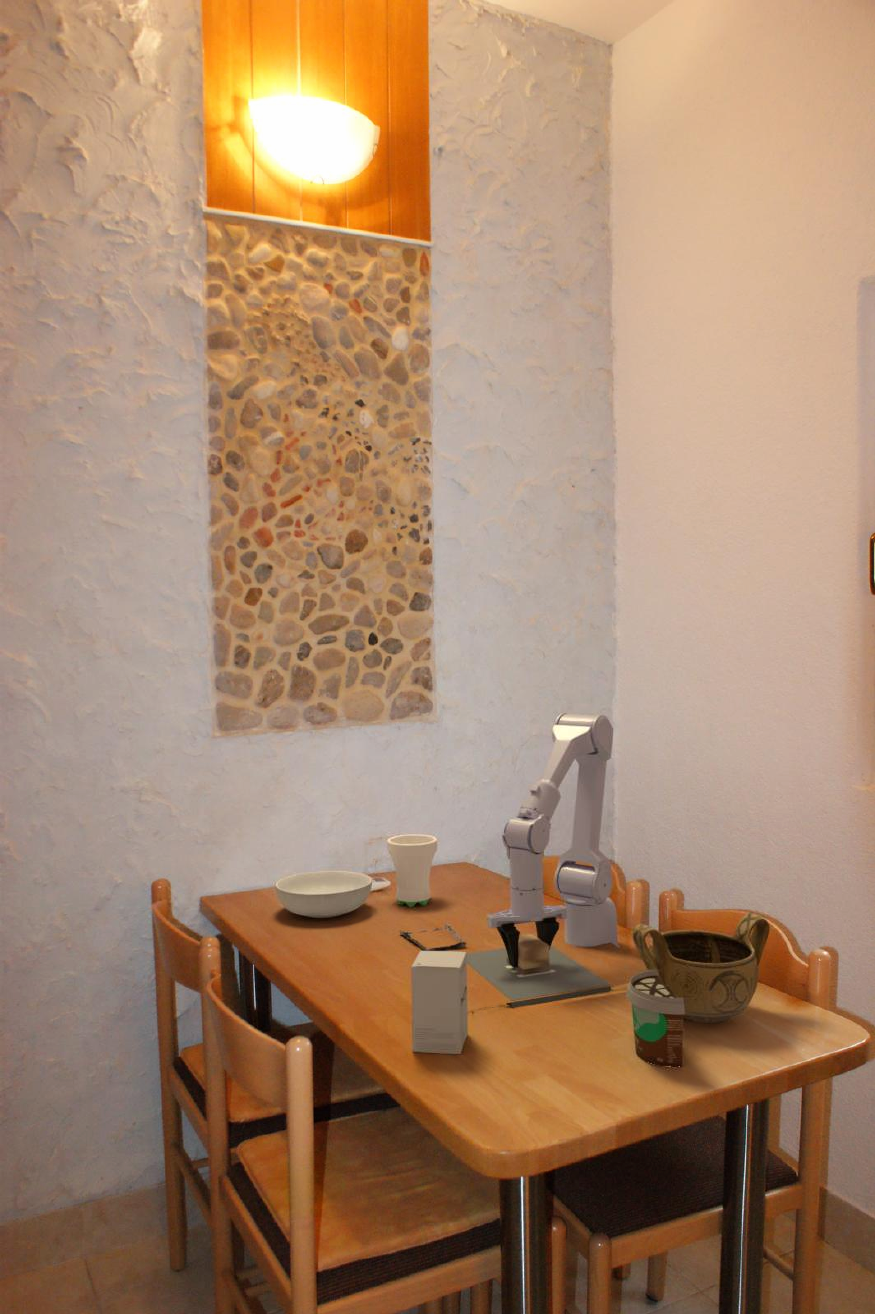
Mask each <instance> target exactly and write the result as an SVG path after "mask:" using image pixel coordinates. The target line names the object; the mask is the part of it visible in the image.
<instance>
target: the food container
mask: <svg viewBox="0 0 875 1314" xmlns="http://www.w3.org/2000/svg"><path fill="white" fill-rule="evenodd" d="M625 998H626V999H627V1000H628V1002H629V1003H630V1004H631V1014H632V1025H633V1027H632V1028H633V1034H634V1036H633V1037H634V1045H635V1046H634V1047H635V1054H636V1056H637V1057H638V1058H639V1057H640V1058H641V1059H640V1058H639V1059H640V1060H642V1061H643V1060H644V1061H643V1062H645V1063H647V1062H649V1063H648V1064H650V1063H652V1064H651V1065H653V1064H655V1065H654V1066H657V1065H659V1066H658V1067H661V1066H671V1067H679V1066H680V1067H682V1068H683V1051H684V1050H683V1048H684V1047H683V1045H684V1044H683V1043H684V1042H683V1041H684V1018H683V1015H684V1014H685V1008H684V1000H683V998H676V997H675V995H674V994H673V992H672V990H671V989H670V987H669V986H667V985H666V984H664V983H663V982H662V981H661V980H660V978H659V977H658V970H649V971H647V970H646V971H641V972H638V973H636V974H634V975H633V976H632V977H631V978H630V979H629V982H628V985H627V990H626V994H625Z"/></svg>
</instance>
